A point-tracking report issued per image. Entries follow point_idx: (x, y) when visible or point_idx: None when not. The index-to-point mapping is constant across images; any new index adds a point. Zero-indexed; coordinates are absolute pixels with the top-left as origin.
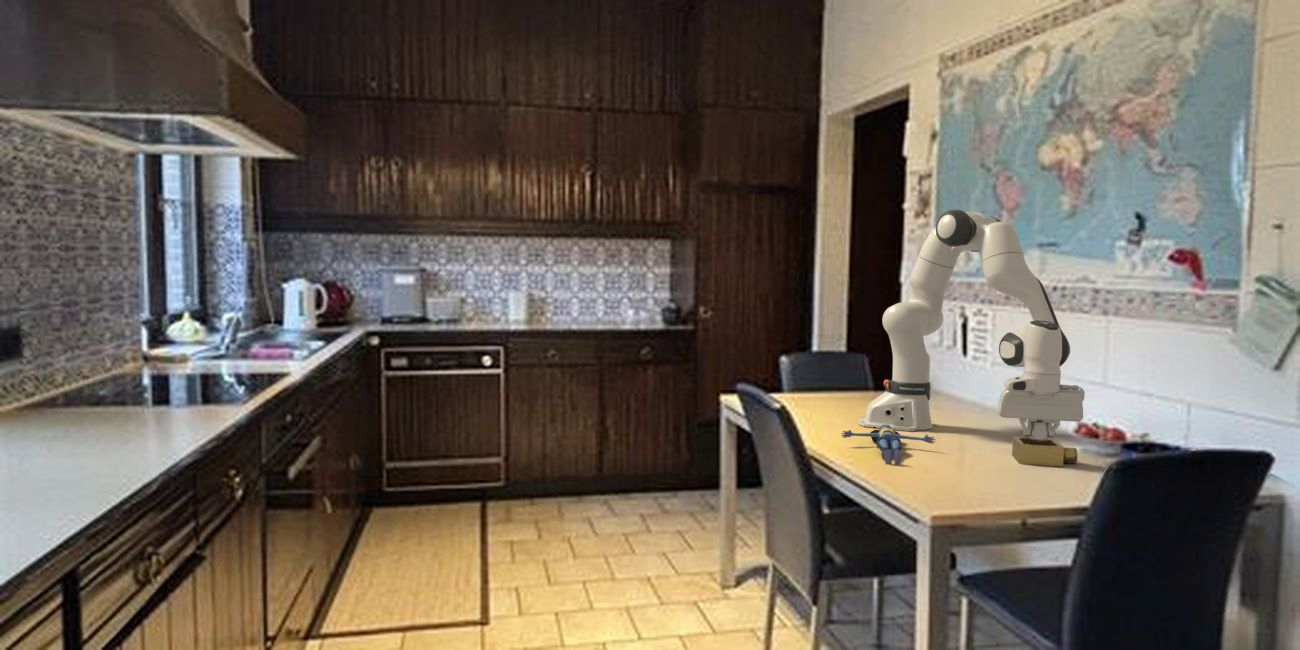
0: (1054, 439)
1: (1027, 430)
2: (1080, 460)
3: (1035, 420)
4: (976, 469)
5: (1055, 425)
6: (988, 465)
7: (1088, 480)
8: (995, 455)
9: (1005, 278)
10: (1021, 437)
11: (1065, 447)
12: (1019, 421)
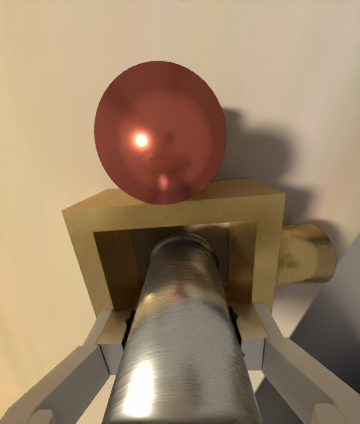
0: (282, 197)
1: (113, 367)
2: (334, 181)
3: (147, 422)
4: (48, 368)
5: (309, 421)
6: (63, 332)
7: (262, 378)
8: (57, 215)
9: None
10: (105, 213)
11: (292, 271)
12: (11, 414)
